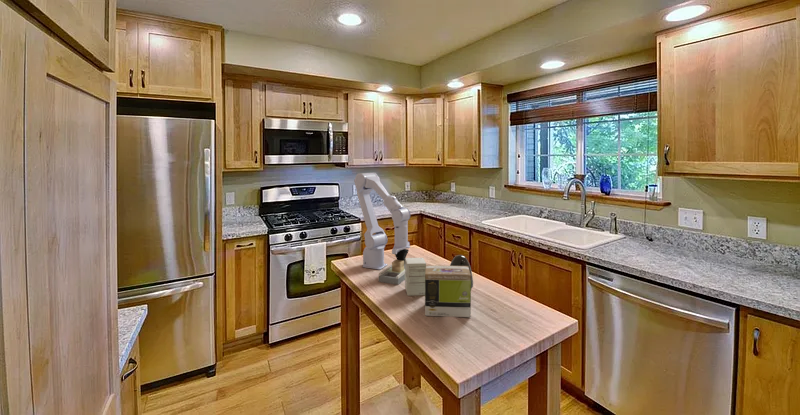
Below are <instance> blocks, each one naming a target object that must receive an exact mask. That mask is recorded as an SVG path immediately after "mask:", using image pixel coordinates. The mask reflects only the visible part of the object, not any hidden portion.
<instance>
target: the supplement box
mask: <svg viewBox="0 0 800 415" xmlns="http://www.w3.org/2000/svg"><path fill="white" fill-rule="evenodd" d="M426 265H427V262H426V260H425V258H424V257H406V258H405V280H404V281H405V282H404V289H405V291H406V292H405V293H406V295H407V296H408V297H409V296H425V270H426Z"/></svg>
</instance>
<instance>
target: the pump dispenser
mask: <svg viewBox="0 0 800 415" xmlns="http://www.w3.org/2000/svg"><path fill="white" fill-rule="evenodd" d="M449 266H468V267H469V271H470V274H471V290H472V289H473V287H474V277H473V273H472V268H471V265H470V262H469V260H468V258H467V257H466V256H465V255H463V254H458V255H457V254H456V255H455V256H454V257H453V259H452V260H451V262H450V264H449Z"/></svg>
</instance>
